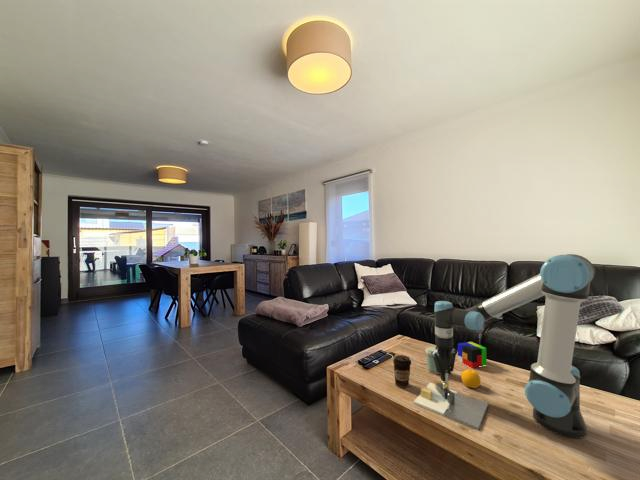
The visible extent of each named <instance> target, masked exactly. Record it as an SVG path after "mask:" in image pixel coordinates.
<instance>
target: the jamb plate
mask: <svg viewBox="0 0 640 480" xmlns="http://www.w3.org/2000/svg"><path fill="white" fill-rule="evenodd" d="M456 392H457V393H456V395H455V403H454V404H449V406H448V408H447V409H446V411H445V412H444V416H443V417H444V418H447V419H450V420H452V421H454V422H457V423H459V424H462V425H464V426H466V427H469V428H471V429H473V430H477V431H479V430H480V428H481V426H482V425H481V424H482V423H483V420H484V417H485V414H486V412H487V410H488V407H489V402H487V401H484V400H482V399H478V398H476V397H472V396H470V395H468V394H464V393H461V392H458V391H456Z"/></svg>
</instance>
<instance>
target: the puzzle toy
mask: <svg viewBox="0 0 640 480" xmlns="http://www.w3.org/2000/svg"><path fill="white" fill-rule="evenodd" d="M457 351H458V352H457V361H458V362H459V361H460V362H459V363H461V362H462V364H463V363H464V364H463V365H465V364H466V365H465V366H467V365H468V366H469V367H468V366H467V367H468V368H470V367H471V368H470V369H472V368H473V369H476V368H475V367H479V366H483V365H488V364H487V361H488V360H487V347H485V346H482V345H481V344H477V343H475V342H473V341H468V342H459V343H457ZM479 368H480V367H479Z"/></svg>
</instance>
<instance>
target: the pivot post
mask: <svg viewBox="0 0 640 480" xmlns="http://www.w3.org/2000/svg"><path fill="white" fill-rule="evenodd" d="M447 402H448V403H450V404H454V403H455V394H454V393H452V392H447Z"/></svg>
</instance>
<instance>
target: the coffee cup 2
mask: <svg viewBox="0 0 640 480" xmlns="http://www.w3.org/2000/svg"><path fill="white" fill-rule="evenodd" d="M435 350H436V345H435V346H434V345H430V346H429V345H428V346H427V347H426V348H425V355H426V356H425V357H426V364H427V372H429V373H430V374H433V375H439V374H440V373H439V372H437V370H436V366H435V362H434V358H433V356H432V354H431V352H434V351H435ZM438 355H439V354H438ZM438 357H439V356H438Z"/></svg>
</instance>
